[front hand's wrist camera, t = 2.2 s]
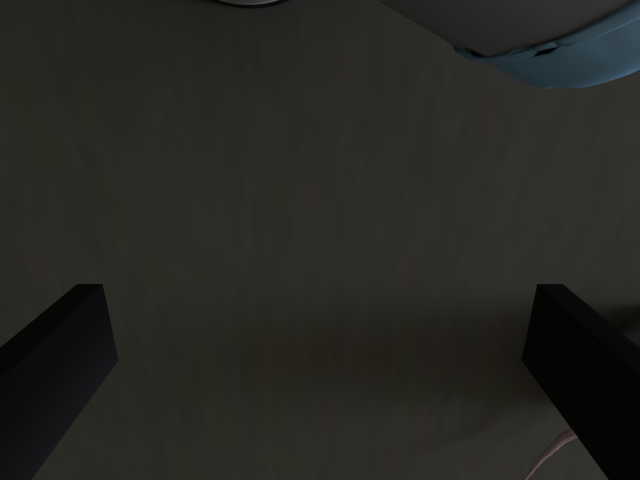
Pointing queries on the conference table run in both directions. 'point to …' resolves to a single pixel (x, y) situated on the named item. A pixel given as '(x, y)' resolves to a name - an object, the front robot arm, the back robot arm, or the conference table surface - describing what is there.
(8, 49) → the conference table surface
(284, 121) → the conference table surface
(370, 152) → the conference table surface
